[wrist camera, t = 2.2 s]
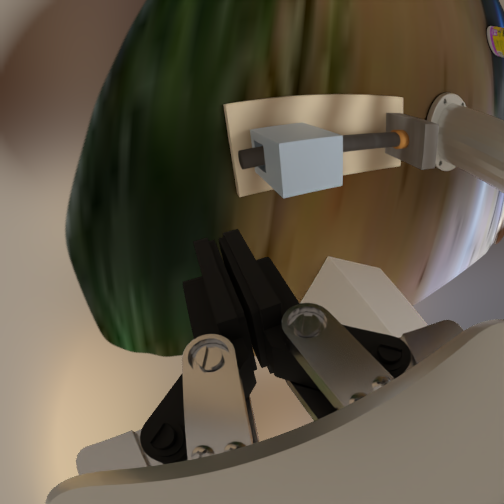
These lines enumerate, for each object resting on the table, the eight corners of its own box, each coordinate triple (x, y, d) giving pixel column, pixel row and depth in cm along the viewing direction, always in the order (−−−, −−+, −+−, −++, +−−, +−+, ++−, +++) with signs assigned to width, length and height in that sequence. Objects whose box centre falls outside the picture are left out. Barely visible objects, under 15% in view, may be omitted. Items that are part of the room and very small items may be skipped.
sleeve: (302, 122, 23) (342, 135, 17) (304, 162, 25) (342, 185, 20) (249, 129, 22) (278, 143, 17) (255, 171, 24) (283, 198, 19)
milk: (379, 268, 41) (484, 387, 20) (344, 320, 45) (423, 438, 25) (327, 256, 35) (455, 419, 15) (290, 318, 40) (374, 472, 20)
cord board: (397, 96, 25) (442, 107, 19) (395, 163, 30) (434, 184, 25) (223, 104, 21) (244, 108, 16) (237, 193, 27) (259, 225, 21)
